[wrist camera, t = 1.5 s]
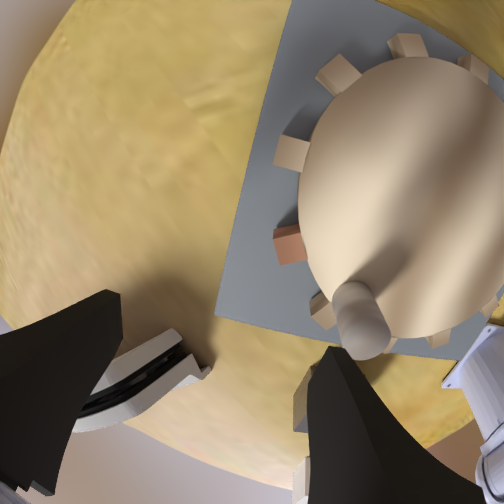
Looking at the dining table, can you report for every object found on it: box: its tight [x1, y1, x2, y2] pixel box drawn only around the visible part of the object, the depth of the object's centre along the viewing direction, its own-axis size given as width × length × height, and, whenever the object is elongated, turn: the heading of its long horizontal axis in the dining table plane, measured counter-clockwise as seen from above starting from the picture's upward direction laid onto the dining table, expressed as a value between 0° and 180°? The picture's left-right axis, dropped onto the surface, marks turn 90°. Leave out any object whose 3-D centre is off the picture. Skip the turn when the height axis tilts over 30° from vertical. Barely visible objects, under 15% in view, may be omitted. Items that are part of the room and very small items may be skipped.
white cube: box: [292, 457, 310, 504], centre depth 25 cm, size 6×6×6 cm
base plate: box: [214, 0, 504, 361], centre depth 14 cm, size 21×21×2 cm
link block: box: [293, 366, 365, 433], centre depth 19 cm, size 5×4×4 cm
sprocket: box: [272, 33, 504, 360], centre depth 10 cm, size 19×19×5 cm
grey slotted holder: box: [72, 328, 212, 432], centre depth 19 cm, size 17×5×10 cm, turn 126°
